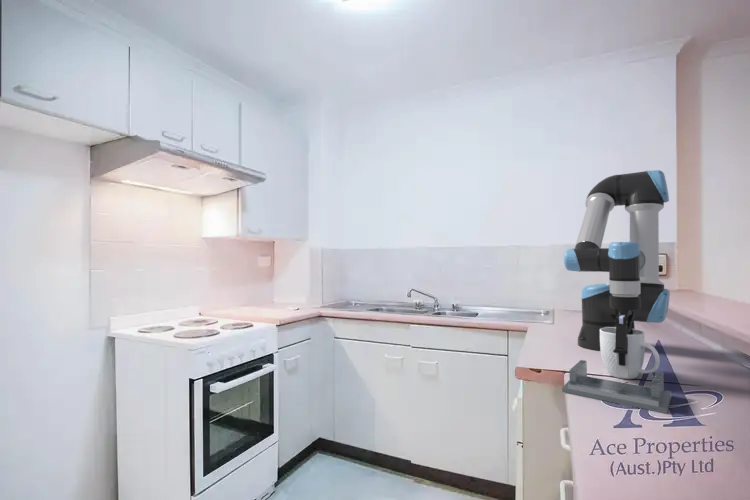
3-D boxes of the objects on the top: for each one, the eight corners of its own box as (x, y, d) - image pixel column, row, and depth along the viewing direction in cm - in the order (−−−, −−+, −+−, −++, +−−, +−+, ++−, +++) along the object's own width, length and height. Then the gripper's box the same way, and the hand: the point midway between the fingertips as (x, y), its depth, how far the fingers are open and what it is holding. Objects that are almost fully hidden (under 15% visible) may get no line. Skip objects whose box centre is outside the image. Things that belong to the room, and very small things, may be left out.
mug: (668, 380, 109) (667, 333, 109) (650, 389, 103) (649, 339, 103) (611, 367, 121) (610, 325, 121) (593, 374, 115) (592, 330, 115)
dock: (575, 378, 112) (574, 359, 112) (671, 396, 98) (671, 373, 98) (562, 392, 102) (561, 370, 102) (666, 413, 88) (666, 388, 88)
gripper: (617, 290, 124) (618, 359, 124) (601, 299, 106) (603, 379, 106) (645, 291, 119) (647, 363, 119) (634, 300, 101) (635, 385, 102)
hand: (626, 371), depth 113 cm, fingers closed on mug, 11 cm apart
